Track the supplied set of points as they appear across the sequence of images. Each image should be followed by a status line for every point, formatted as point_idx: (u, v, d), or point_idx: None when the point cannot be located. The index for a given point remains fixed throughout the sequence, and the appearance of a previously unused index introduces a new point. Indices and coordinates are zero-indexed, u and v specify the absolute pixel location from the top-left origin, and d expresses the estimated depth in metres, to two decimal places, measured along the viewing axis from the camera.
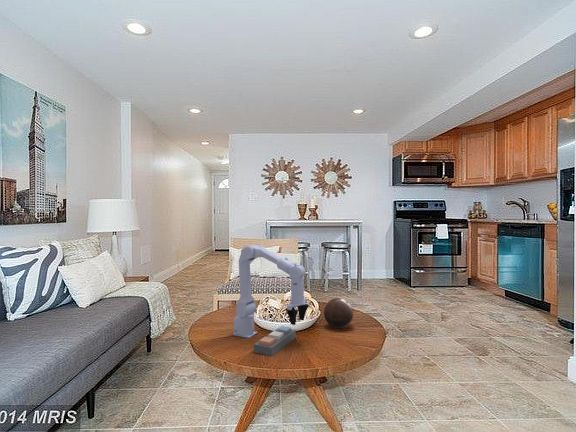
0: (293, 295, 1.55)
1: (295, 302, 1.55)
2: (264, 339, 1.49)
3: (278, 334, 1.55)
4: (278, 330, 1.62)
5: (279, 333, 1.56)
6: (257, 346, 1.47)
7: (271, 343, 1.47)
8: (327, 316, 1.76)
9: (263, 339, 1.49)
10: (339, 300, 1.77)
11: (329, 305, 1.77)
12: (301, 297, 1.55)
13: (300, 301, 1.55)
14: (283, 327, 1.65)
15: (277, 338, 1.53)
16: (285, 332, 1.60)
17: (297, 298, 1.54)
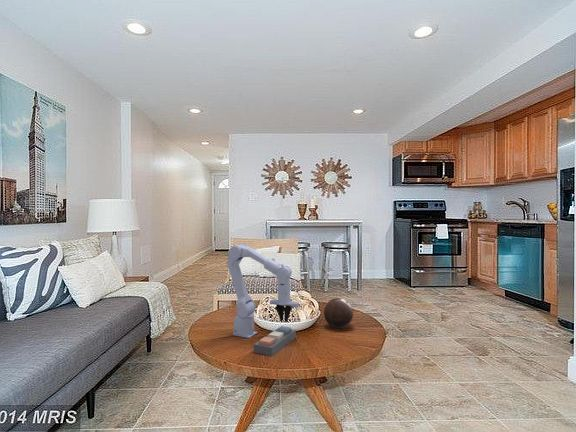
0: None
1: None
2: (264, 339, 1.49)
3: (278, 334, 1.55)
4: (278, 330, 1.62)
5: (279, 333, 1.56)
6: (257, 346, 1.47)
7: (271, 343, 1.47)
8: (327, 316, 1.76)
9: (263, 339, 1.49)
10: (339, 300, 1.77)
11: (329, 305, 1.77)
12: (279, 297, 1.61)
13: (278, 300, 1.62)
14: (283, 327, 1.65)
15: (277, 338, 1.53)
16: (285, 332, 1.60)
17: (278, 296, 1.63)
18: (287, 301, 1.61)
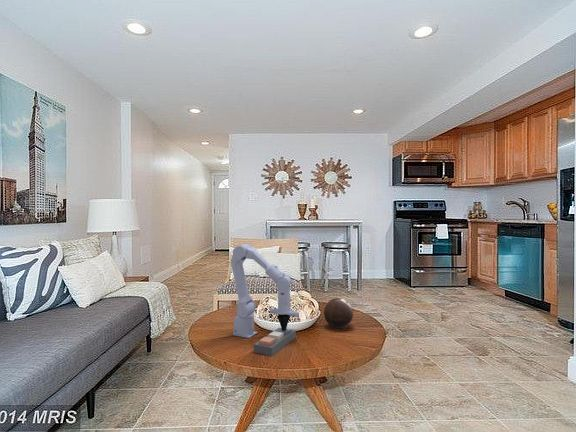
0: None
1: None
2: (264, 339, 1.49)
3: (278, 334, 1.55)
4: None
5: (279, 333, 1.56)
6: (257, 346, 1.47)
7: (271, 343, 1.47)
8: (327, 316, 1.76)
9: (263, 339, 1.49)
10: (339, 300, 1.77)
11: (329, 305, 1.77)
12: (279, 306, 1.61)
13: (279, 309, 1.62)
14: None
15: (277, 338, 1.53)
16: None
17: (278, 306, 1.63)
18: (287, 310, 1.61)
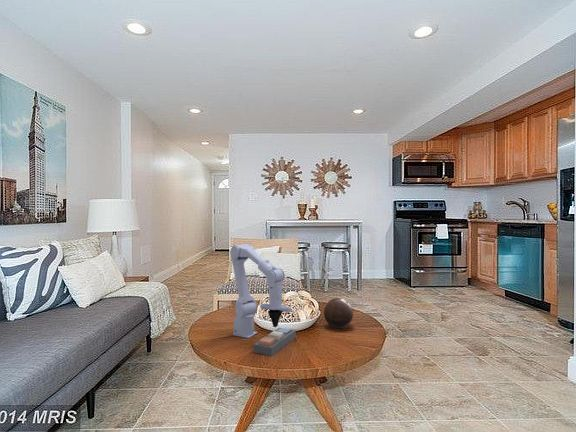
0: None
1: None
2: (264, 339, 1.49)
3: (278, 334, 1.55)
4: None
5: (279, 333, 1.56)
6: (257, 346, 1.47)
7: (271, 343, 1.47)
8: (327, 316, 1.76)
9: (263, 339, 1.49)
10: (339, 300, 1.77)
11: (329, 305, 1.77)
12: (270, 301, 1.54)
13: (270, 305, 1.54)
14: (283, 329, 1.65)
15: (277, 338, 1.53)
16: None
17: (269, 301, 1.55)
18: (279, 305, 1.53)
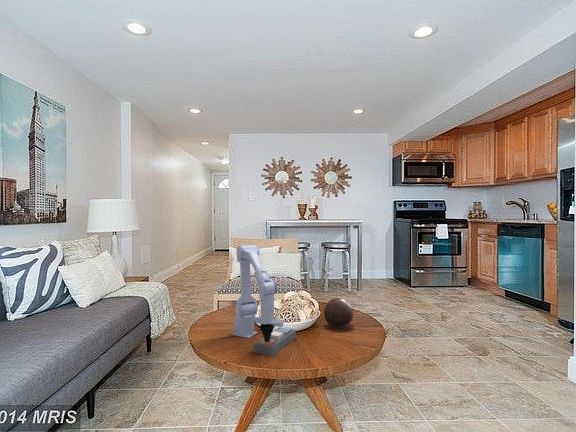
0: None
1: None
2: (264, 341, 1.49)
3: (278, 334, 1.55)
4: None
5: (279, 333, 1.56)
6: (257, 346, 1.47)
7: None
8: (327, 316, 1.76)
9: (263, 341, 1.49)
10: (339, 300, 1.77)
11: (329, 305, 1.77)
12: (262, 315, 1.47)
13: (261, 318, 1.47)
14: (283, 329, 1.65)
15: (277, 338, 1.53)
16: None
17: None
18: (270, 320, 1.47)
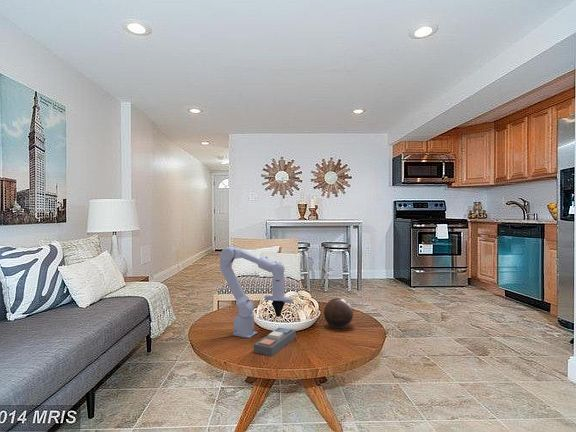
0: None
1: None
2: (264, 341, 1.49)
3: (278, 334, 1.55)
4: None
5: (279, 333, 1.56)
6: (257, 346, 1.47)
7: None
8: (327, 316, 1.76)
9: (263, 341, 1.49)
10: (339, 300, 1.77)
11: (329, 305, 1.77)
12: (274, 293, 1.66)
13: (273, 296, 1.66)
14: (283, 329, 1.65)
15: (277, 338, 1.53)
16: None
17: None
18: (281, 297, 1.65)
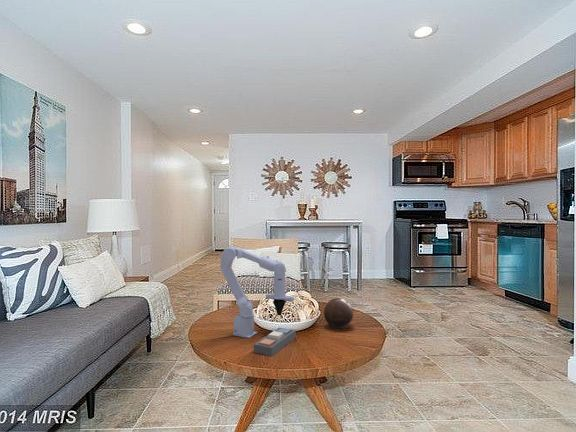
0: None
1: None
2: (264, 341, 1.49)
3: (278, 334, 1.55)
4: None
5: (279, 333, 1.56)
6: (257, 346, 1.47)
7: None
8: (327, 316, 1.76)
9: (263, 341, 1.49)
10: (339, 300, 1.77)
11: (329, 305, 1.77)
12: (275, 291, 1.68)
13: (274, 295, 1.68)
14: (283, 329, 1.65)
15: (277, 338, 1.53)
16: None
17: None
18: (282, 295, 1.68)
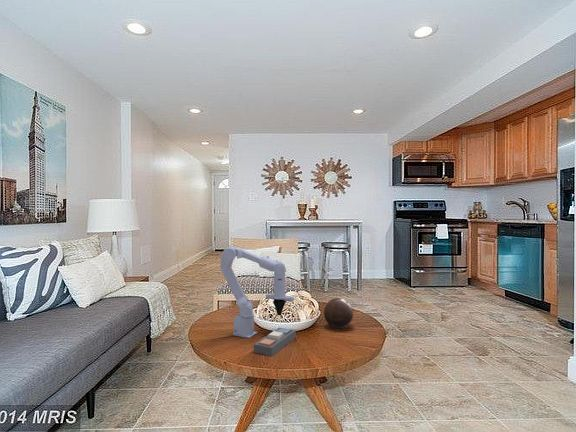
0: None
1: None
2: (264, 341, 1.49)
3: (278, 334, 1.55)
4: None
5: (279, 333, 1.56)
6: (257, 346, 1.47)
7: None
8: (327, 316, 1.76)
9: (263, 341, 1.49)
10: (339, 300, 1.77)
11: (329, 305, 1.77)
12: (275, 291, 1.68)
13: (274, 295, 1.68)
14: (283, 329, 1.65)
15: (277, 338, 1.53)
16: None
17: None
18: (282, 295, 1.68)
